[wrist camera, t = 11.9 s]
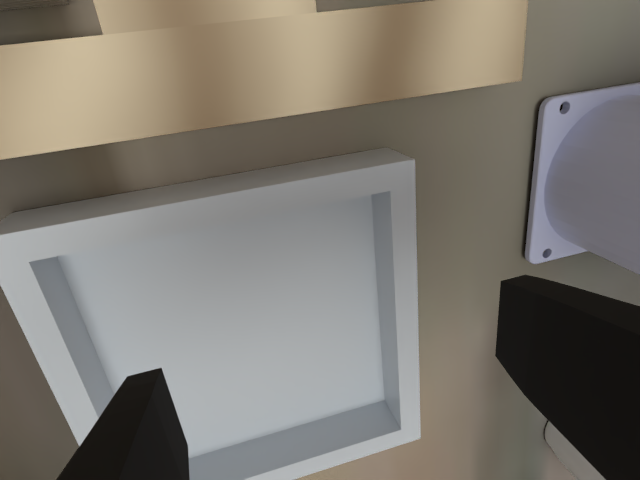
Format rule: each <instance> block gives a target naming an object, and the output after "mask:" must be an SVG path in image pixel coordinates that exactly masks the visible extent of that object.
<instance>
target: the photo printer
mask: <svg viewBox="0 0 640 480" xmlns="http://www.w3.org/2000/svg"><path fill="white" fill-rule="evenodd" d="M545 440H546V442H547V443H548V445H549V446H550V447H551V448H552V449H553V452H554V454H555V455H556V456H557V458H558V459H559V460H560V461H561V462H562V464H563V465H564V466H565V467H566V468H567V469H568V471H569V472H570V473H571V474H572V475H573V476H574V477H575V478H576V479H577V480H606V479H605V478H604V477H603V476H602V475H601V474H600V473H599V472H598V471H597V470H596V469H595V468H594V467H593V466H592V465H591V464H590V463H589V462H588V461H587V460H586V459H585V458H584V457H583V456H582V455H581V454H580V453H579V452H578V450H577V449H576V448H575V447H574V446H573V445H572V444H571V443H570V442H569V441H568V440H567V439H566V438H565V437H564V436H563V435H562V434H561V433H560V432H559V431H558V430H557V429H556V428H555V427H554V426H553V425H552V424H551V423H550V421H548V423H547V426H546V428H545Z"/></svg>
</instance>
